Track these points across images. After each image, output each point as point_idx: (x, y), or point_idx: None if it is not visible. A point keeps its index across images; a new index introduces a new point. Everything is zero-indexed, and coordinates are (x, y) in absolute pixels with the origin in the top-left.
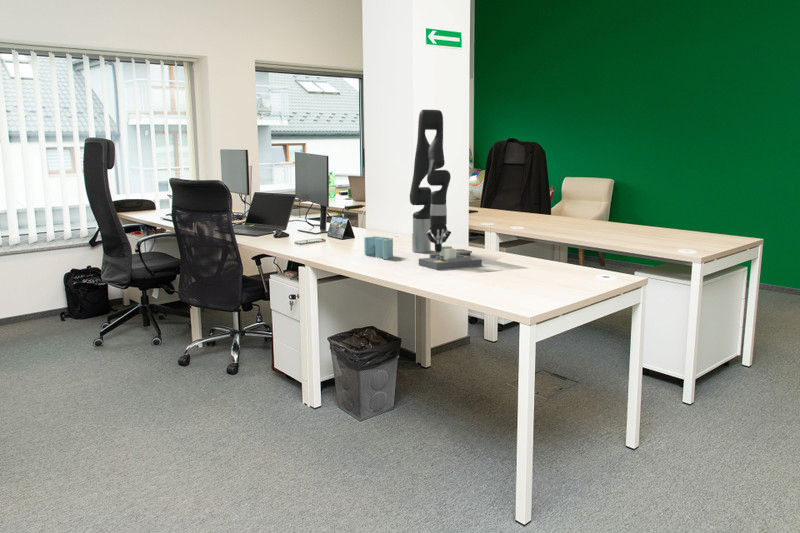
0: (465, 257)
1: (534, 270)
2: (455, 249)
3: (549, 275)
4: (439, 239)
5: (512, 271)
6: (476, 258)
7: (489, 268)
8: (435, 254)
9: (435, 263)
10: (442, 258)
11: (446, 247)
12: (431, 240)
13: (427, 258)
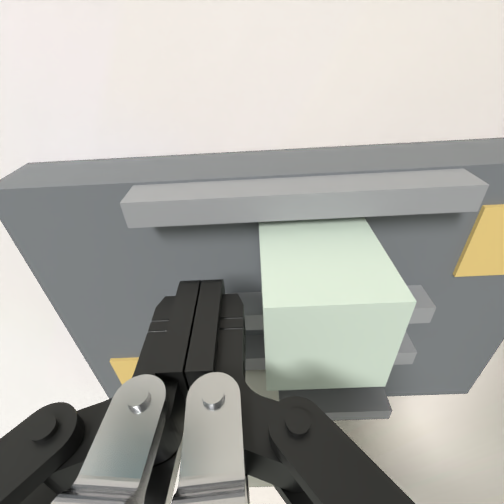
0: (340, 419)
1: (499, 463)
2: (273, 485)
3: (440, 501)
4: (224, 469)
5: (417, 456)
6: (480, 361)
7: (406, 405)
8: (199, 224)
9: (110, 396)
10: None
11: (296, 383)
12: (19, 462)
13: (95, 219)
